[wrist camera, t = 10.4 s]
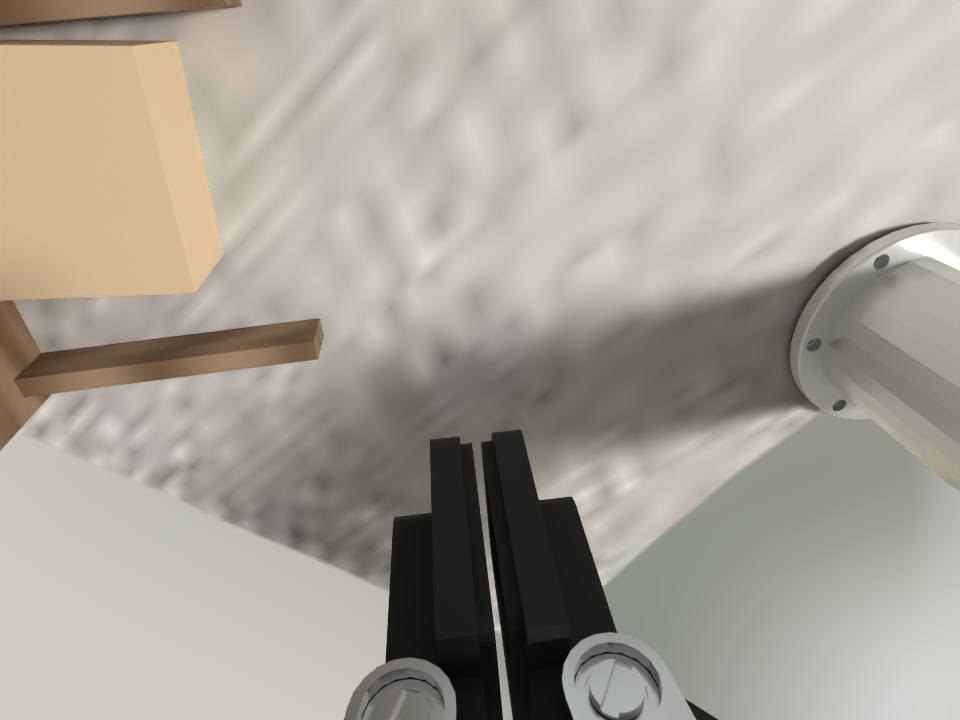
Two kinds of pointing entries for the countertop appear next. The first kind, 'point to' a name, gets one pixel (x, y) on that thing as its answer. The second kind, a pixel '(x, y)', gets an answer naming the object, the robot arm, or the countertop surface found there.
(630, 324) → the countertop surface
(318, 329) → the stand
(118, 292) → the kraft carton
